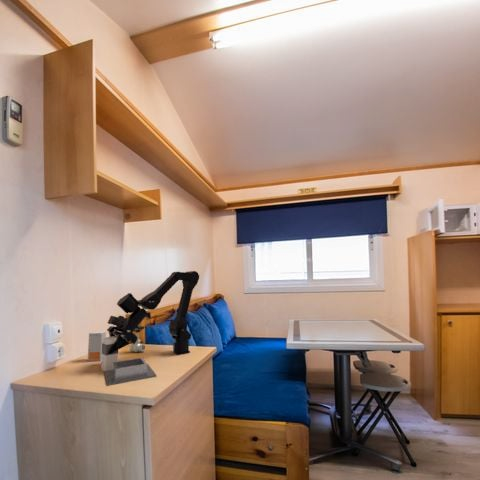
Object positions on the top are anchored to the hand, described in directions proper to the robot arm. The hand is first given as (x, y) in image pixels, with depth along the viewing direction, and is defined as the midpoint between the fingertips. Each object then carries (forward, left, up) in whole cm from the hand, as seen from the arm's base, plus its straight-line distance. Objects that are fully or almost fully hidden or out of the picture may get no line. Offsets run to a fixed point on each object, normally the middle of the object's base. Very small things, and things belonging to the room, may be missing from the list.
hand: (106, 352), depth 113 cm
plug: (-1, 0, -7) cm, 7 cm away
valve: (-15, -23, -7) cm, 29 cm away
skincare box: (+3, -19, -7) cm, 21 cm away
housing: (-7, +12, -7) cm, 15 cm away
